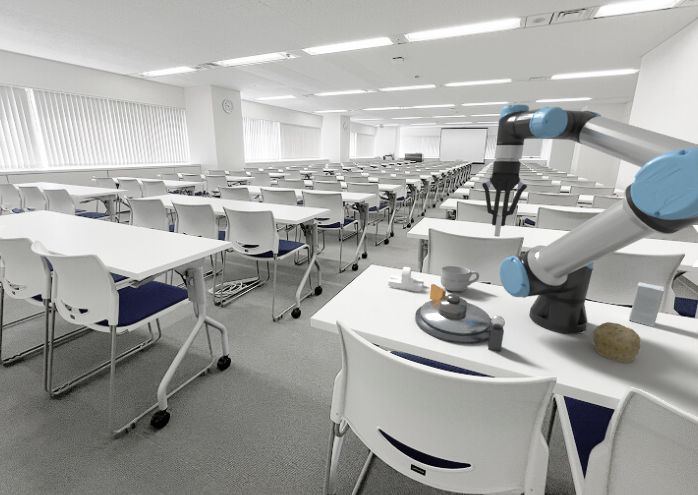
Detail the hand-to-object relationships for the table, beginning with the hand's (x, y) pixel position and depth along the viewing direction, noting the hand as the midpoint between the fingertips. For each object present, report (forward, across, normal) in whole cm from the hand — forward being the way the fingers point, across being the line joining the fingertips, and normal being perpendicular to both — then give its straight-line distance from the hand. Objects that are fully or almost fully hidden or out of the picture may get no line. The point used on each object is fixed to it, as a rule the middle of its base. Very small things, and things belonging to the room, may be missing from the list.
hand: (496, 235), depth 106 cm
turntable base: (+24, +10, +18) cm, 32 cm away
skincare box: (+25, -45, -5) cm, 52 cm away
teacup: (+25, +10, -10) cm, 28 cm away
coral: (+25, -30, +19) cm, 43 cm away
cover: (+21, +11, +18) cm, 30 cm away
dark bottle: (+24, -1, +28) cm, 37 cm away
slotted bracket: (+25, +29, -5) cm, 39 cm away
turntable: (+23, +11, +17) cm, 31 cm away
